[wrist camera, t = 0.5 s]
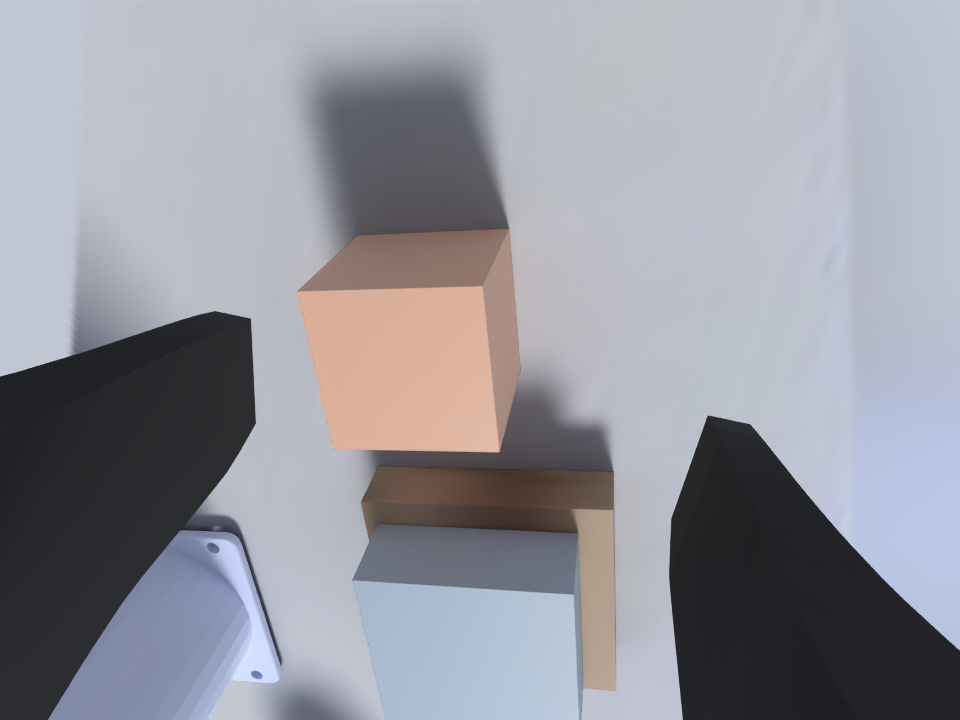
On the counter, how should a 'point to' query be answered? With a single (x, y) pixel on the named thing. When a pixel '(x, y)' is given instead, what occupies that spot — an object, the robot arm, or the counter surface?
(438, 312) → the terracotta block
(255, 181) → the counter surface
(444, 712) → the slate middle block
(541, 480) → the walnut base block
